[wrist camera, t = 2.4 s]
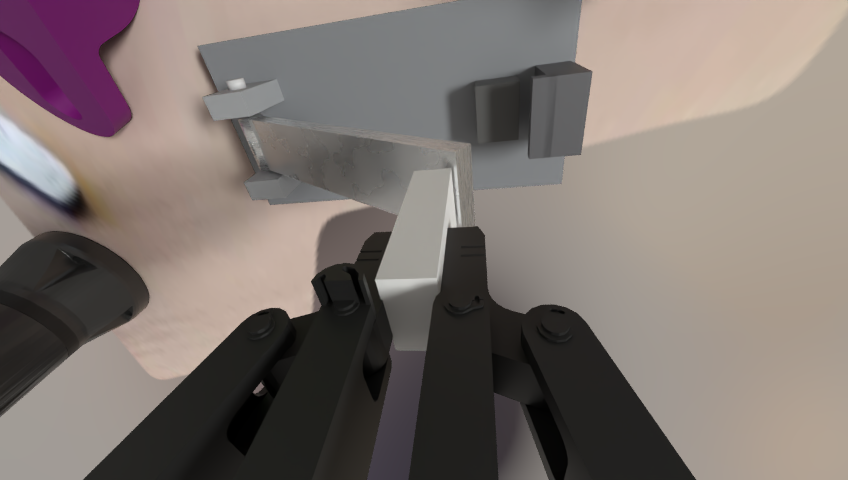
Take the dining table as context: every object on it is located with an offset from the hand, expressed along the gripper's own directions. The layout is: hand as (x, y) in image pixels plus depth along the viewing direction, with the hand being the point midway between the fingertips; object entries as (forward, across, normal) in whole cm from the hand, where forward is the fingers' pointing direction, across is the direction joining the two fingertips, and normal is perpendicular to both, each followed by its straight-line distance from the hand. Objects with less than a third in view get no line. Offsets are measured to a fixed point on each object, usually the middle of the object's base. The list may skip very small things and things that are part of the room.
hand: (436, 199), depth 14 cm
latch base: (+17, -5, 0) cm, 18 cm away
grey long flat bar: (+7, -7, 0) cm, 10 cm away
